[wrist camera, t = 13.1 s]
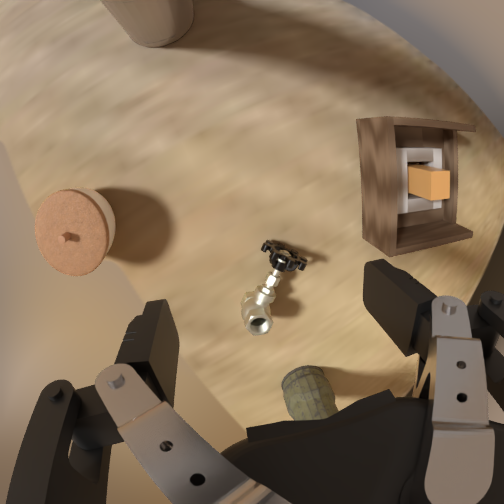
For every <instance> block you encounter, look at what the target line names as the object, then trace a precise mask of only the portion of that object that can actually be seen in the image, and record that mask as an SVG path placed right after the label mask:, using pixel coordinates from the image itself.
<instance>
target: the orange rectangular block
mask: <svg viewBox="0 0 504 504" xmlns="http://www.w3.org/2000/svg"><path fill="white" fill-rule="evenodd" d="M407 172H408V193H411V194H414V195H416V196H419V197H422V198H425V199H428V200H431V201H432V200H440V199H449V198H450V171H448V170H444V169H439V168H435V167H430V166H425V165H420V164H407Z"/></svg>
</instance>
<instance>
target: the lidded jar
mask: <svg viewBox="0 0 504 504" xmlns="http://www.w3.org/2000/svg"><path fill="white" fill-rule="evenodd" d="M115 230H116V223H115V217H114V213H113V210H112V208H111V206H110V204H109V203H108V201H107V200H106V199H105V198H104V197H103V196H102V195H100V194H99V193H98V192H96V191H94V190H92V189H88V188H83V187H75V188H69V189H65V190H60V191H58V192H55V193H53V194H51V195H50V196H48V197H47V198H46V199H45V200H44V201H43V203H42V204H41V206H40V208H39V210H38V212H37V216H36V221H35V235H36V240H37V244H38V246H39V249H40V251H41V253H42V255H43V256H44V258H45V259H46V261H47V262H48V263H49V264H50V265H51V266H53V267H54V268H55V269H56V270H58V271H59V272H62V273H64V274H67V275H71V276H82V275H86V274H88V273H90V272H92V271H93V270H94V269H96V268H97V267H98V266H99V265H100V264H101V262H102V261H103V259H104V258H105V256H106V254H107V253H108V251H109V249H110V247H111V245H112V243H113V240H114V236H115Z"/></svg>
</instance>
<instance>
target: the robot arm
mask: <svg viewBox="0 0 504 504" xmlns="http://www.w3.org/2000/svg"><path fill="white" fill-rule="evenodd" d="M100 1H101V2H102V3H103V4H104V6H105V7H106V8H107V9H108V10H109V12H110V13H111V14H112V15H113V16H114V18H115V19H116V20H117V21H118V23H119V24H120V25H121V26H122V27H123V29H124V30H125V31H126V33H127V34H128V35H129V36H130V38H131V39H132V40H133V41H134V42H136V43H137V44H139V45H142V46H146V47H159V46H164V45H167V44H170V43H172V42H174V41H176V40H178V39H179V38H181V37H182V36H183V35H184V34H185V33H186V32H187V31H188V30H189V28H190V27H191V25H192V22H193V18H194V12H193V3H192V0H100ZM363 301H364V305H365V307H366V309H367V310H368V312H369V313H370V314H371V315H372V316H373V317H374V319H375V320H376V321H377V322H378V323H379V325H380V326H381V327H382V328H383V329H384V331H385V332H386V333H387V334H388V335H389V337H390V338H391V339H392V340H393V342H394V343H395V344H396V345H397V346H398V348H399V349H400V350H401V351H402V353H403V354H404V355H405V356H406V357H407V356H410V355H412V354H415V353H418V354H419V357H418V360H417V366H416V375H415V382H414V389H413V396H412V397H396V398H395V397H394V396H393V394H392V393H391V391H390V390H389V389H388V390H385V391H383V392H380V393H377V394H375V395H372V396H369V397H366V398H363V399H360V400H358V401H356V402H354V403H353V404H351V405H349V406H348V407H346V408H344V409H342V410H341V411H339V412H337V413H335V414H333V415H332V416H330V417H328V418H325V419H317V420H295V421H281V422H276V423H271V424H266V425H260V426H254V427H248V428H246V430H247V437H248V438H246V439H244V440H241V441H239V442H237V443H235V444H233V445H232V446H230V447H228V448H227V449H225V450H224V451H223V452H221V453H219V452H218V451H216V450H215V449H214V448H212V446H211V445H210V444H209V443H208V442H206V441H205V440H204V439H203V438H202V437H201V436H200V435H199V434H198V433H197V432H196V431H195V430H194V429H193V428H192V427H190V425H189V424H187V423H186V422H185V421H184V420H183V419H182V417H181V416H179V415H178V414H177V412H175V410H174V409H173V407H174V395H175V384H176V373H177V364H178V355H179V336H178V332H177V329H176V326H175V323H174V320H173V317H172V314H171V311H170V308H169V305H168V302H167V300H166V299H162V300H156V301H149V302H147V303H146V305H145V308H144V311H143V314H142V315H139V316H136V317H135V318H134V319H133V321H132V322H130V324H129V325H128V328H127V331H126V334H125V336H124V339H123V342H122V344H121V347H120V350H119V352H118V355H117V358H116V361H115V363H114V365H111V366H109V367H107V368H105V369H104V370H102V371H101V372H100V373H99V375H98V376H97V378H96V380H95V385H92V386H88V387H84V388H81V389H77V390H75V388H74V387H73V386H72V384H71V383H70V382H69V381H67V380H57V381H54V382H52V383H50V384H48V385H47V386H46V387H45V388H44V389H43V390H42V392H41V394H40V396H39V399H38V401H37V404H36V406H35V409H34V411H33V414H32V416H31V419H30V421H29V424H28V427H27V430H26V433H25V435H24V438H23V441H22V444H21V447H20V450H19V454H18V457H17V460H16V464H15V467H14V471H13V475H12V478H11V483H10V487H9V491H8V496H7V500H6V504H106V495H107V482H108V472H109V463H110V455H111V447H112V445H113V444H117V443H120V442H124V441H125V443H126V444H127V445H128V447H129V448H130V450H131V451H132V453H133V454H134V456H135V457H136V459H137V460H138V461H139V463H140V464H141V465H142V467H143V468H144V469H145V471H146V472H147V473H148V475H149V476H150V477H151V479H152V480H153V481H154V482H155V484H156V485H157V486H158V487H159V488H160V490H161V491H162V492H163V493H164V495H165V496H166V497H167V498H168V499H169V500H170V501H171V502H172V504H504V424H501V423H497V422H494V421H490V420H488V397H487V390H488V391H489V392H490V394H491V395H492V396H493V398H494V399H495V400H496V402H497V403H498V404H499V406H500V407H501V408H502V410H503V411H504V357H503V355H502V354H501V353H500V352H499V351H498V350H497V349H496V348H495V346H496V343H497V341H498V339H499V336H500V335H501V336H502V337H503V338H504V295H503V294H502V293H499V292H496V291H486V292H484V293H482V295H481V297H480V301H479V305H471V306H466V305H465V303H464V302H463V301H462V300H460V299H458V298H456V297H453V296H439V297H437V296H436V295H435V294H434V293H432V292H431V291H430V290H429V289H427V288H426V287H425V286H424V285H422V284H421V283H419V281H417V280H416V279H415V278H414V279H413V277H412V276H411V275H410V274H408V273H407V272H406V271H403V270H401V269H398V268H396V267H394V266H392V265H391V264H390V263H388V262H387V261H386V260H384V259H379V260H374V261H370V262H366V264H365V266H364V283H363ZM71 439H72V440H73V443H72V447H71V452H70V456H69V458H68V451H69V446H70V443H71Z"/></svg>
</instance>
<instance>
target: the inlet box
mask: <svg viewBox="0 0 504 504" xmlns="http://www.w3.org/2000/svg"><path fill="white" fill-rule="evenodd" d="M356 123H357V132H358V142H359V154H360V168H361V187H362V224H363V239H365V240H366V241H368V242H369V243H370V244H372V245H373V246H375V247H376V248H378V249H379V250H380V251H382V252H383V253H384V254H386V255H387V256H389V257H393V256H397V255H402V254H406V253H410V252H415V251H419V250H423V249H427V248H432V247H436V246H440V245H444V244H448V243H452V242H456V241H460V240H464V239H468V238H472V236H473V231H471V230H469V229H467V228H464V227H462V226H460V225H458V224H456V213H457V195H458V148H457V130H458V131H470V132H476V129H475V126H474V125H468V124H462V123H455V122H447V121H439V120H430V119H419V118H406V117H388V116H386V117H374V118H364V119H356ZM407 162H420V165H425V166H430V167H435V168H439V169H444V170H448V171H450V198H449V199H440V200H432V201H431V200H428V199H425V198H422V197H419V196H416V195H414V194H411V193H408V172H407Z"/></svg>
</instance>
